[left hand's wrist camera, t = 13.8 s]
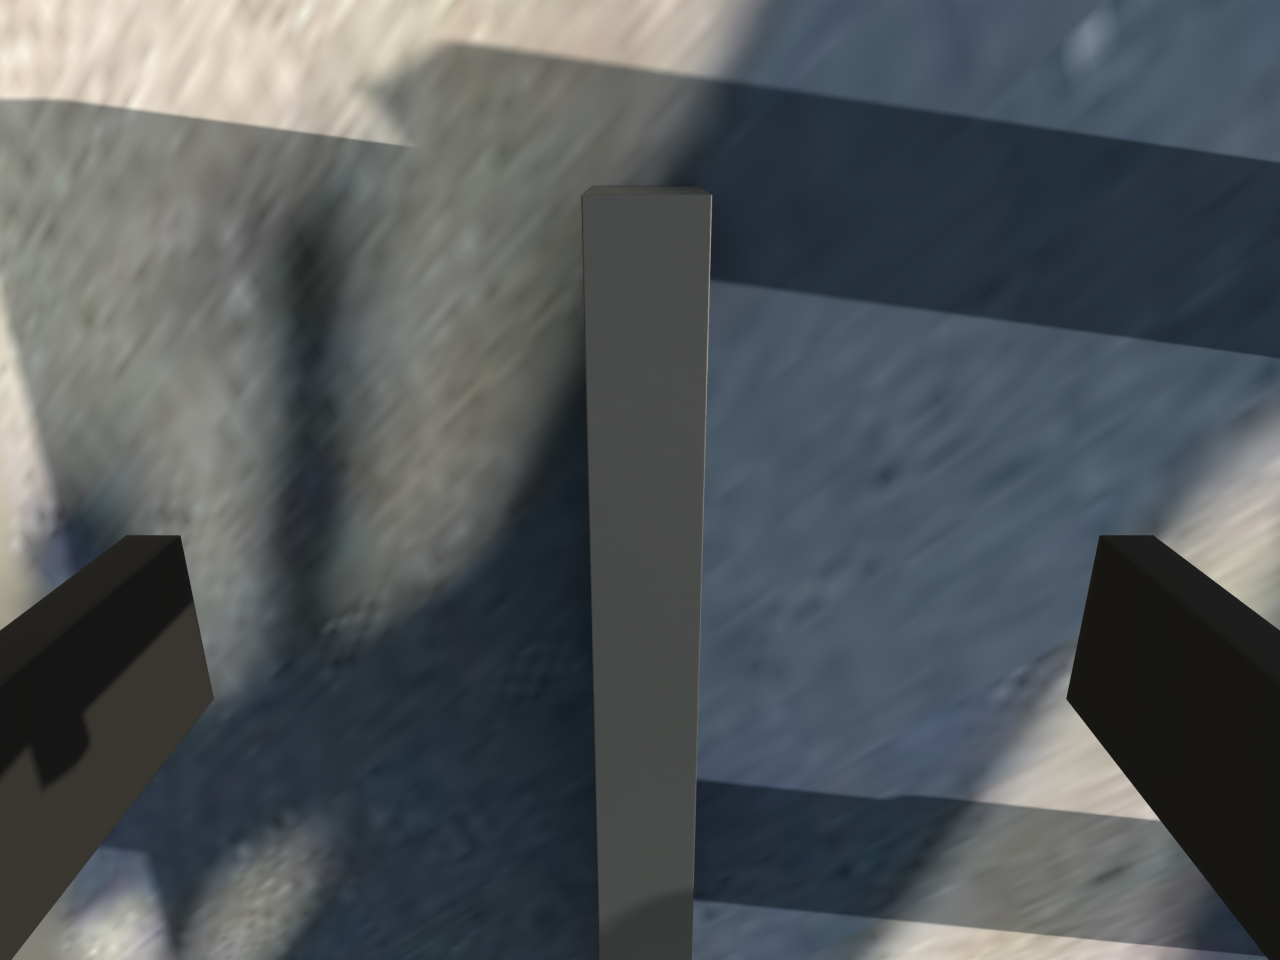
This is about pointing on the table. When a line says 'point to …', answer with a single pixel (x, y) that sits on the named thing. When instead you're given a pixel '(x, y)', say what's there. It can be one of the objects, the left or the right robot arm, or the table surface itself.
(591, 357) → the post
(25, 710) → the left robot arm
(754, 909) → the table surface
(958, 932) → the table surface
